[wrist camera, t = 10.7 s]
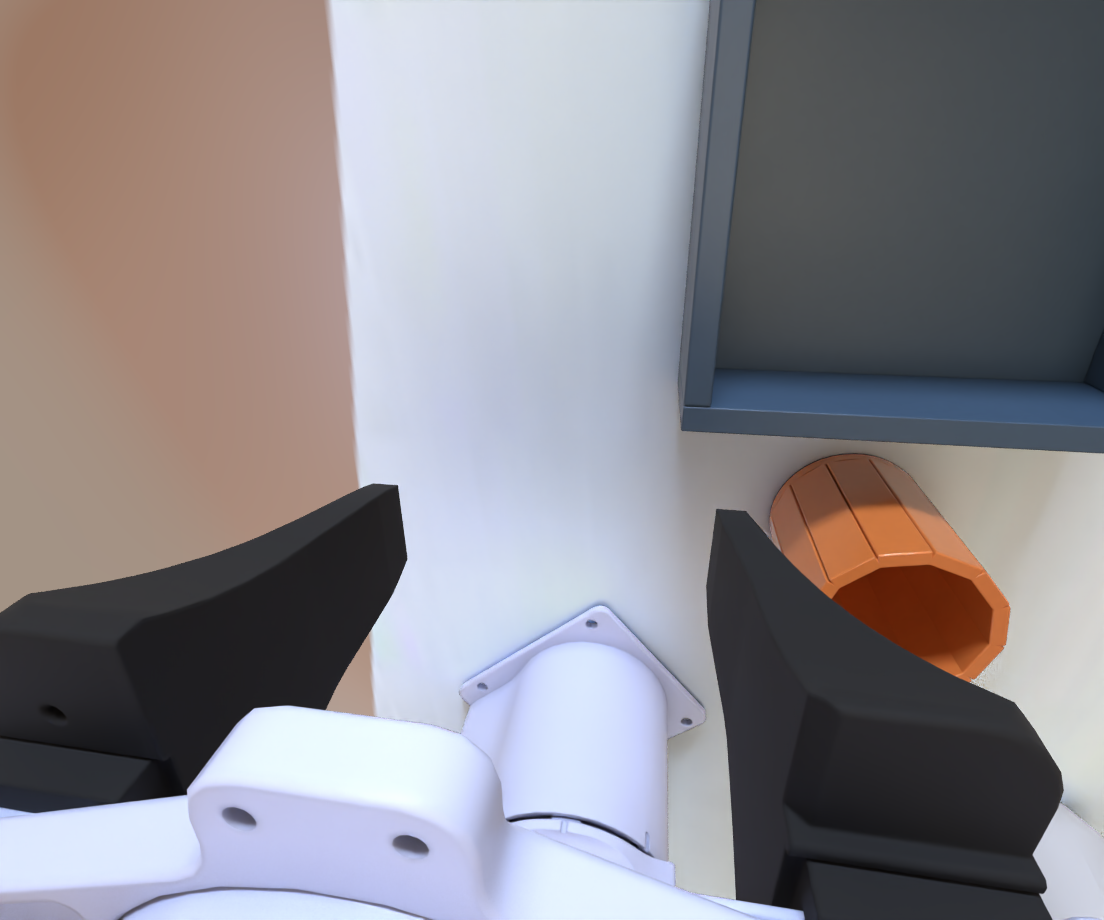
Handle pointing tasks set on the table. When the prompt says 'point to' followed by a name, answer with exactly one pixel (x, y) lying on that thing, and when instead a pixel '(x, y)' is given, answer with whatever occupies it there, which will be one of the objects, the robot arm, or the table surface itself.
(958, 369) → the dark grey storage bin
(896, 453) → the table surface
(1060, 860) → the salt shaker
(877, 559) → the cup
